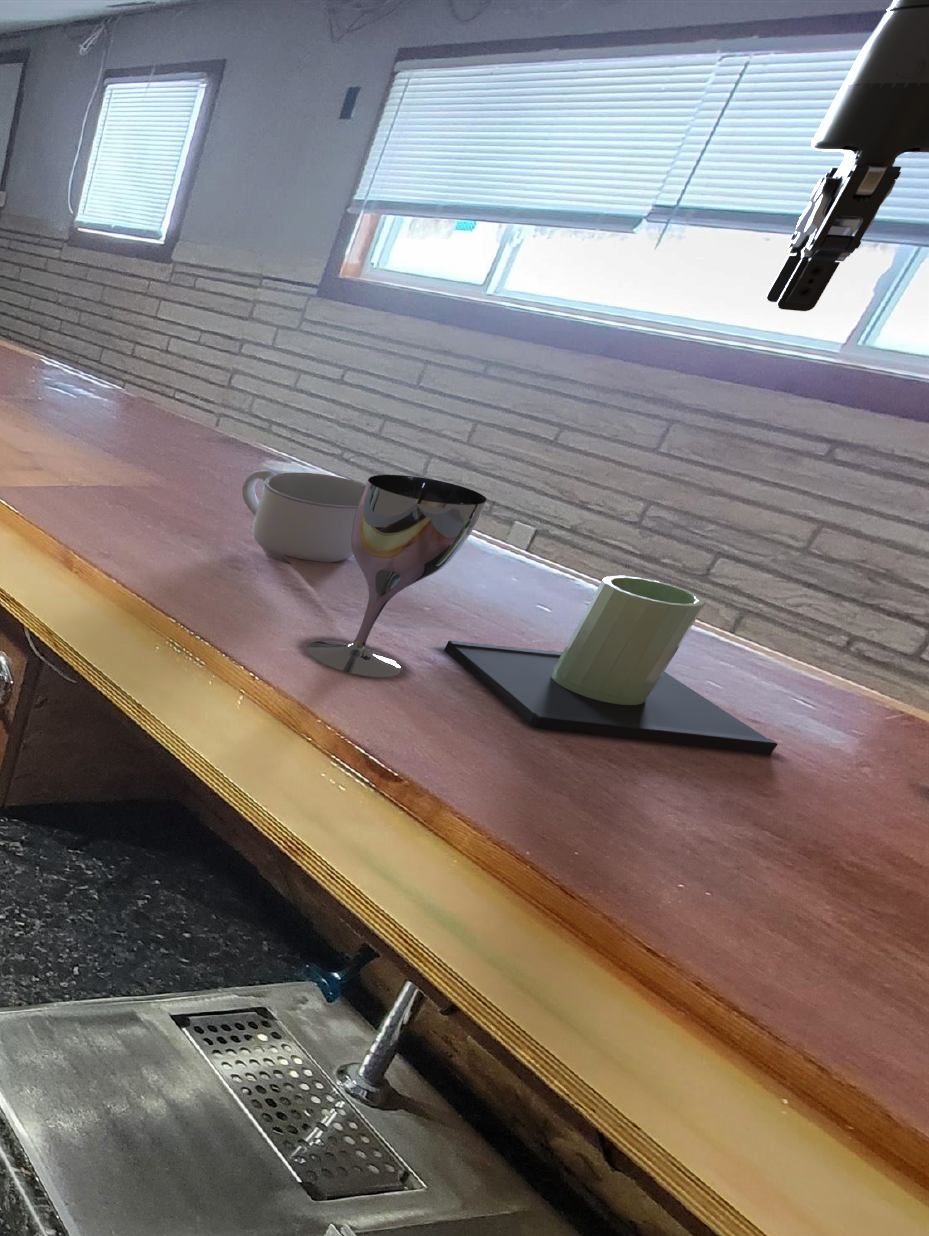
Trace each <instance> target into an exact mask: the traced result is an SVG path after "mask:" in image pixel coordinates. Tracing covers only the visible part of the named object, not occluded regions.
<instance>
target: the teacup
mask: <svg viewBox="0 0 929 1236" xmlns="http://www.w3.org/2000/svg"><path fill="white" fill-rule="evenodd" d="M259 480H262V481H263V489H262V492H261V496H260V499H258V497H257V495H256V491H255V490H256V485H257V483H258V482H259ZM365 485H366V483H362V482H359V481H356V480H353V479H349V478H345V477H341V476H336V475H330V474H324V473H317V472H316V473H313V472H282V473H276V474H275V473H274V472H272V471H270V470H267V469H261V470H257V471H253V472H251V473H250V474H249V475H248V476H247V477H246V478H245V479H244V482H243V484H242V487H241V494H242V499H243V502H244V503H245V505H246V507H247V508H248V510H249V511H250V512H251V514H252V515H253V516H254V518H253V524H252V535H253V538H254V540H255V541H256V543H257V544H258V546H260V547H261V548H262V551H263V552H264V553H265V554H266V555H267V556H268V557H270V558H272V559H274V560H276V561H279V562H282V563H286V564H288V565H292V563H291V562H290V561H289V560H288V558H287V557H289V558H295V559H299V560H304V561H312V562H322V563H324V562H325V563H333V562H342V561H344V560H347V559H349V558H350V557H353V556H354V554H353V551H352V548H351V537H352V528H353V523H354V518H355V514H356V509H357V506H358V504H359V501H360V498H361V495H362V492H363V490H364V487H365Z"/></svg>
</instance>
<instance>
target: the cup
mask: <svg viewBox="0 0 929 1236" xmlns="http://www.w3.org/2000/svg"><path fill="white" fill-rule="evenodd" d="M706 604H707V602H706V601H705V599H704V598H703V597H702V596H701V595H699V594H696V593H694V592H693V591H690V590H688V589H685V588H682V587H680V586H677V585H674V584H670V583H666V582H662V581H658V580H654V579H648V578H643V577H637V576H629V575H628V576H626V575H608V576H606V577H604V578H603V579H602V580H601V582H600V583H599V586H598V587H597V589H596V590H595V593H594V594H593V596H592V598H591V600H590V602H589V604H588V605H587V608H586V609H585V611H584V613H583V615H582V616H581V618H580V620H579V622H578V624H577V626H576V627H575V629H574V631H573V633H572V635H571V637H570V638H569V640H568V642H567V644H566V646H565V647H564V649H563V651H562V652H563V653H562V655H561V657H560V658H559V660H558V662H557V664H556V666H555V669H554V671H553V673H552V678H553V680H554V681H555V682H556V683H558V684H559V685H561V686H562V687H564V688H566V689H568V690H570V691H572V692H575V693H577V694H580V695H582V696H585V697H588V698H591V699H595V700H599V701H603V702H607V703H613V704H620V705H640V704H642V703H644V702H645V701H646V699H647V698H648V696H649V695H650V694H651V692H652V691H653V689H654V687H655V686H656V684H657V683H658V681H659V679H660V678H661V676H662V674H663V673H664V672H666V670H667V668H668V666H669V664H670V663H671V661H672V660H673V658H674V656H675V655H676V653H677V652H678V650H679V648H680V646H681V645H682V643H683V642H684V640H685V638H686V637H687V635H688V634H689V632H690V630H691V628H692V627H693V625H694V624H695V622H696V620H697V619H698V617H699V615H700V614H701V612H702V610H703V609H704V607H705V605H706Z"/></svg>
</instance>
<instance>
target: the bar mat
mask: <svg viewBox="0 0 929 1236" xmlns="http://www.w3.org/2000/svg"><path fill="white" fill-rule="evenodd" d="M443 652H444V653H446V654H447V655H448V656H449V657H450V658H451V659H453V661H455V662H456V663H457V664H459V665H460V666H461V667H462V668H463V669H464V670H465V671H467V672H468V674H470V675H471V676H472V677H473V678H475V680H476V681H478V682H480V684H482V685H483V687H485V688H486V689H487V690H488V691H490V692H491V693H492V694H493V695H495V697H497V698H498V699H499V700H500V701H502V703H504V705H506V706H507V707H508V708H510V710H512V711H513V712H514V713H515V714H517V715H518V717H520V718H521V719H522V720H523V721H524V722H525V723H527V724H528V725H529V726H530V727H532V729H535V730H543V731H544V730H545V731H553V732H561V733H572V734H578V735H579V734H581V735H587V736H598V737H606V738H614V739H621V740H622V739H623V740H633V741H641V742H648V743H649V742H650V743H658V744H667V745H668V744H669V745H675V746H676V745H677V746H685V747H694V748H703V749H710V750H720V751H729V752H737V753H738V752H739V753H747V754H756V755H763V756H771V754H773V752H774V751H775V749H776V748H777V746H778V742H776V741H774V740H773V739H771V738H767V737H766V736H765V735H763V734H761V733H760V732H758V731H756V730H755V729H754V728H752V727H751V726H749V725H747V724H746V723H744V722H743V721H741V720H740V719H739V718H736V717H735V716H733V714H730V713H729V712H727V711H726V710H724V709H722V708H721V707H720V706H719V705H717V704H715V703H714V702H712V701H710V700H709V699H708V698H706V697H704V696H703V695H702V694H700V693H698V692H697V691H695V690H694V689H692V688H691V687H689V686H687V685H686V684H684V683H683V682H681V681H680V680H678V679H676V677H674V676H672V675H671V674H669V673H667V672H666V671H664V673H663V674H662V676H661V678H660V679H659V681H658V683H657V684H656V686H655V687H654V689H653V691H652V692H651V694H650V695H649V696H648V698H647V699H646V701H645V702H644V703H642V704H640V705H620V704H613V703H607V702H603V701H599V700H595V699H591V698H588V697H585V696H582V695H580V694H577V693H575V692H572V691H570V690H568V689H566V688H564V687H562V686H561V685H559V684H558V683H556V682H555V681H554V680H553V678H552V673H553V671H554V669H555V666H556V664H557V662H558V660H559V658H560V657H561V655H562V653H563V651H554V650H544V649H536V648H535V649H534V648H526V647H525V648H524V647H514V646H505V645H497V644H488V643H487V644H486V643H475V642H469V641H468V642H467V641H457V640H448V642H446V645H445V646H444V650H443Z"/></svg>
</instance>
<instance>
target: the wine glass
mask: <svg viewBox="0 0 929 1236" xmlns="http://www.w3.org/2000/svg"><path fill="white" fill-rule="evenodd" d="M487 500H488V499H487V497H486V496H485V495H484V494H482V493H480V492H478V491H476V490H474V489H471V488H469V487H465V486H461V485H459V484H454V483H450V482H447V481H442V480H437V479H431V478H426V477H419V476H414V475H413V476H412V475H404V474H377V475H372V476H370V477H368V478H367V480H366V483H365V487H364V490H363V492H362V495H361V498H360V501H359V504H358V506H357V509H356V514H355V518H354V523H353V528H352V537H351V548H352V551H353V557H354V558H355V561H356V563H357V564H358V566H359V568H360V570H361V572H362V574H363V576H364V579H365V582H366V585H367V589H368V600H367V605H366V609H365V612H364V615H363V619H362V622H361V625H360V628H359V630H358V631H357V634H356V637H355V639H354V640H353V642H352V643H350V642H343V641H336V640H317V641H313V642H310V643H309V644H308V645H307V646H306V651H307V652H308V654H309V655H310V656H311V657H312V658H314V659H315V660H317V661H318V662H320V663H322V664H324V665H326V666H329V667H331V668H334V669H336V670H339V671H342V672H346V673H349V674H353V675H358V676H362V677H363V676H364V677H371V678H390V677H394V676H398V675H399V674H400V672H401V668H402V667H401V666H400V665H399V664H398V662H396V661H395V660H394V659H393V658H392V657H389V656H387V655H386V654H384V653H381V652H379V651H377V650H374V649H371V648H369V647H366V644H367V641H368V638H369V636H370V633H371V631H372V629H373V627H374V625H375V623H376V621H377V619H378V618H379V616H380V614H381V613H382V612H383V610H384V608H385V607H386V605H387V604H388V603H389V601H391V599H392V598H394V597H395V596H396V595H397V594H398V593H400V592H401V591H403V590H404V589H406V588H408V587H409V586H412V585H414V584H416V583H418V582H420V581H423V580H424V579H426V578H428V577H430V576H432V575H434V574H436V573H437V572H439V571H441V570H442V569H444V568H445V567H446V566H447V565H448V564H449V563H450V562H451V561H452V560H453V558H455V556H456V555H457V553H458V552H459V551H460V550H461V548H462V547H463V546H464V544H465V543H466V541H467V540H468V539H469V537H470V535H471V534H472V532H473V531H474V528H475V526H476V525H477V523H478V520H479V519H480V517H481V516H482V512H483V510H484V509H485V506H486V504H487Z"/></svg>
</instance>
